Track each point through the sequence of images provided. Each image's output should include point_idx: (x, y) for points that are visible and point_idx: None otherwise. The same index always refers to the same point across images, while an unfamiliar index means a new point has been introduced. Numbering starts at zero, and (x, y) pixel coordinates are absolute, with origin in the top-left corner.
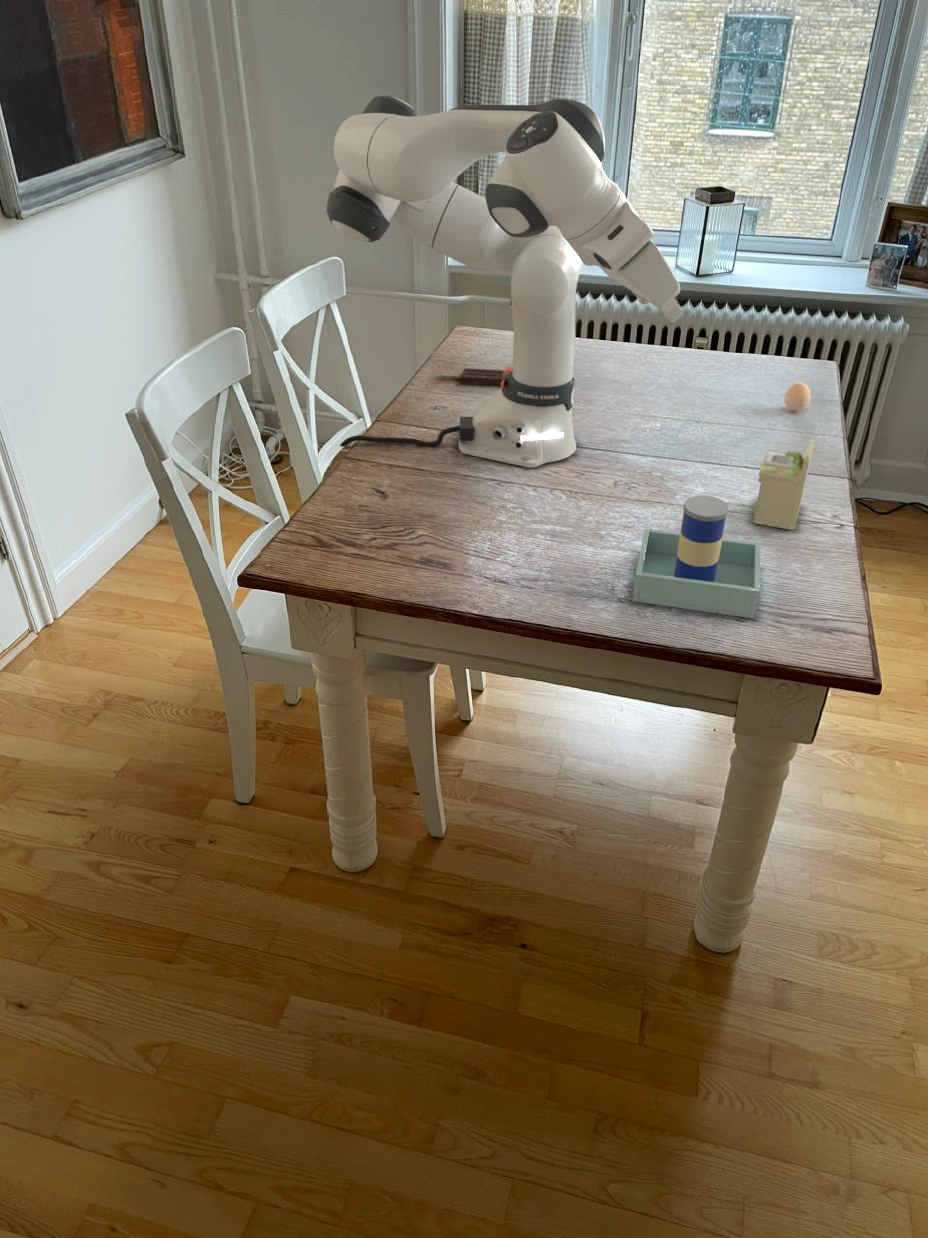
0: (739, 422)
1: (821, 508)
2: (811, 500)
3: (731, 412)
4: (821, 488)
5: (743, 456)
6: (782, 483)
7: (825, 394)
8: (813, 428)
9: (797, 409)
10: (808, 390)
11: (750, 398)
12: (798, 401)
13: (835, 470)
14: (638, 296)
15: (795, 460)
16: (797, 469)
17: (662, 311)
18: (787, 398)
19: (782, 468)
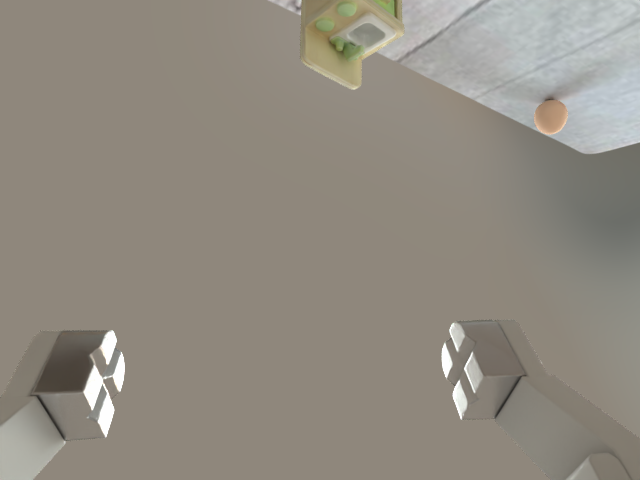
0: (592, 50)
1: None
2: None
3: (620, 56)
4: None
5: (521, 8)
6: (321, 1)
7: None
8: (503, 94)
9: (541, 104)
10: (539, 129)
11: (618, 86)
12: (541, 113)
13: (413, 66)
14: (486, 375)
15: (347, 47)
16: (330, 36)
17: (73, 393)
18: (557, 110)
19: (345, 23)
